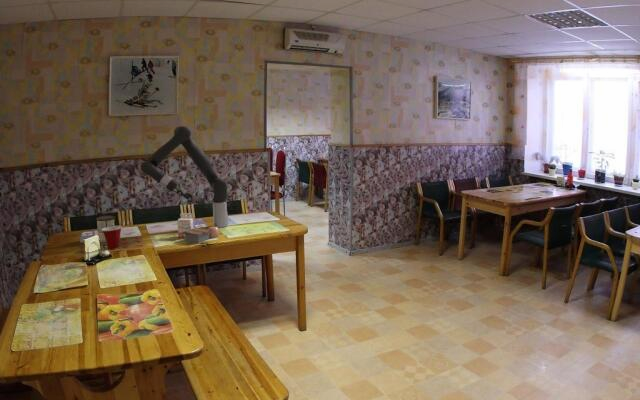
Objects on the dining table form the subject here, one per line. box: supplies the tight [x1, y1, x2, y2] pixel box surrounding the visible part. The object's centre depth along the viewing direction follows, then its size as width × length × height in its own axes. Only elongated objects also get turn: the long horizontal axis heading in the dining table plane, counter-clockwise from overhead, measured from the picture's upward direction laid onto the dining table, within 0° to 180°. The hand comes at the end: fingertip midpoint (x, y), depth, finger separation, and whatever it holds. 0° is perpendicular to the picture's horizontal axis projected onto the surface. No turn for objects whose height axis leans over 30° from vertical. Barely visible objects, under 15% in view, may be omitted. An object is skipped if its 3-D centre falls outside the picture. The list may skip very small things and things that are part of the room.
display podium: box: [183, 227, 211, 244], centre depth 284 cm, size 12×12×6 cm
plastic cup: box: [102, 225, 122, 250], centre depth 267 cm, size 11×11×12 cm
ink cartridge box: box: [177, 212, 194, 239], centre depth 292 cm, size 9×5×15 cm, turn 84°
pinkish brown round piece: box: [207, 226, 220, 239], centre depth 292 cm, size 6×6×6 cm
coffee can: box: [96, 215, 116, 243], centre depth 284 cm, size 10×10×14 cm
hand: (190, 198), depth 292 cm, fingers open, 8 cm apart
